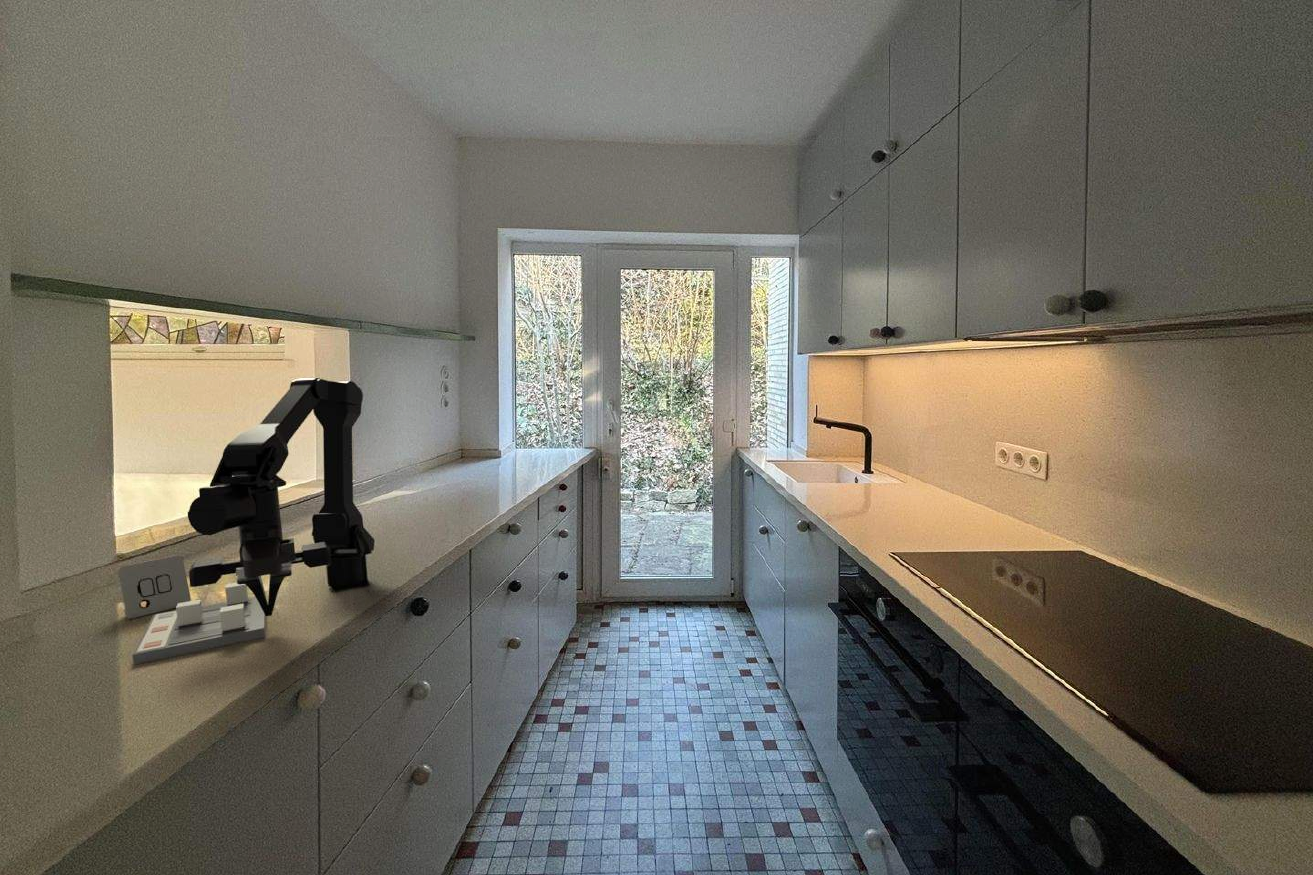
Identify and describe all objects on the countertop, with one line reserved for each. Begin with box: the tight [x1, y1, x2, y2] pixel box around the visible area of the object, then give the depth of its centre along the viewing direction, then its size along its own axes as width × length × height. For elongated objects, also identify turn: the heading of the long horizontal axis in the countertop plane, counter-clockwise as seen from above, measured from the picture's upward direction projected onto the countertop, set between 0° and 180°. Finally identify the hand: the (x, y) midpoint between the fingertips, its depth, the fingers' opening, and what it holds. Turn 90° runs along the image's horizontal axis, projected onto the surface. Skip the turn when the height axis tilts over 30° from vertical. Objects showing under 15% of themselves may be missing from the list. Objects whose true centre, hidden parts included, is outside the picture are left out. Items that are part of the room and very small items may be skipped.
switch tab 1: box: [175, 599, 203, 626], centre depth 101 cm, size 3×2×3 cm
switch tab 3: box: [220, 604, 245, 631], centre depth 98 cm, size 3×2×3 cm
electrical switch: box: [116, 554, 192, 620], centre depth 113 cm, size 9×5×9 cm, turn 141°
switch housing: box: [132, 595, 266, 665], centre depth 102 cm, size 16×19×2 cm
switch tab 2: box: [224, 582, 249, 605], centre depth 110 cm, size 3×2×3 cm
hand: (268, 615), depth 101 cm, fingers closed
